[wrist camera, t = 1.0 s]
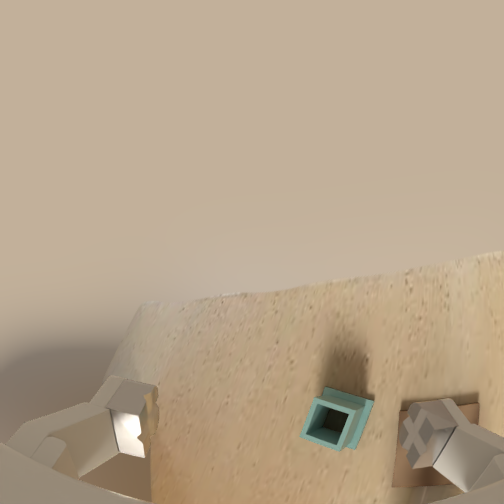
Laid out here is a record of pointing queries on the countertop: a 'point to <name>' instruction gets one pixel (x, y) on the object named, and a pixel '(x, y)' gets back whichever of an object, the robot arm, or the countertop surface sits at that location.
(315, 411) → the flanged sleeve
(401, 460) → the walnut post base
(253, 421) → the countertop surface
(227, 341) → the countertop surface
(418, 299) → the countertop surface
